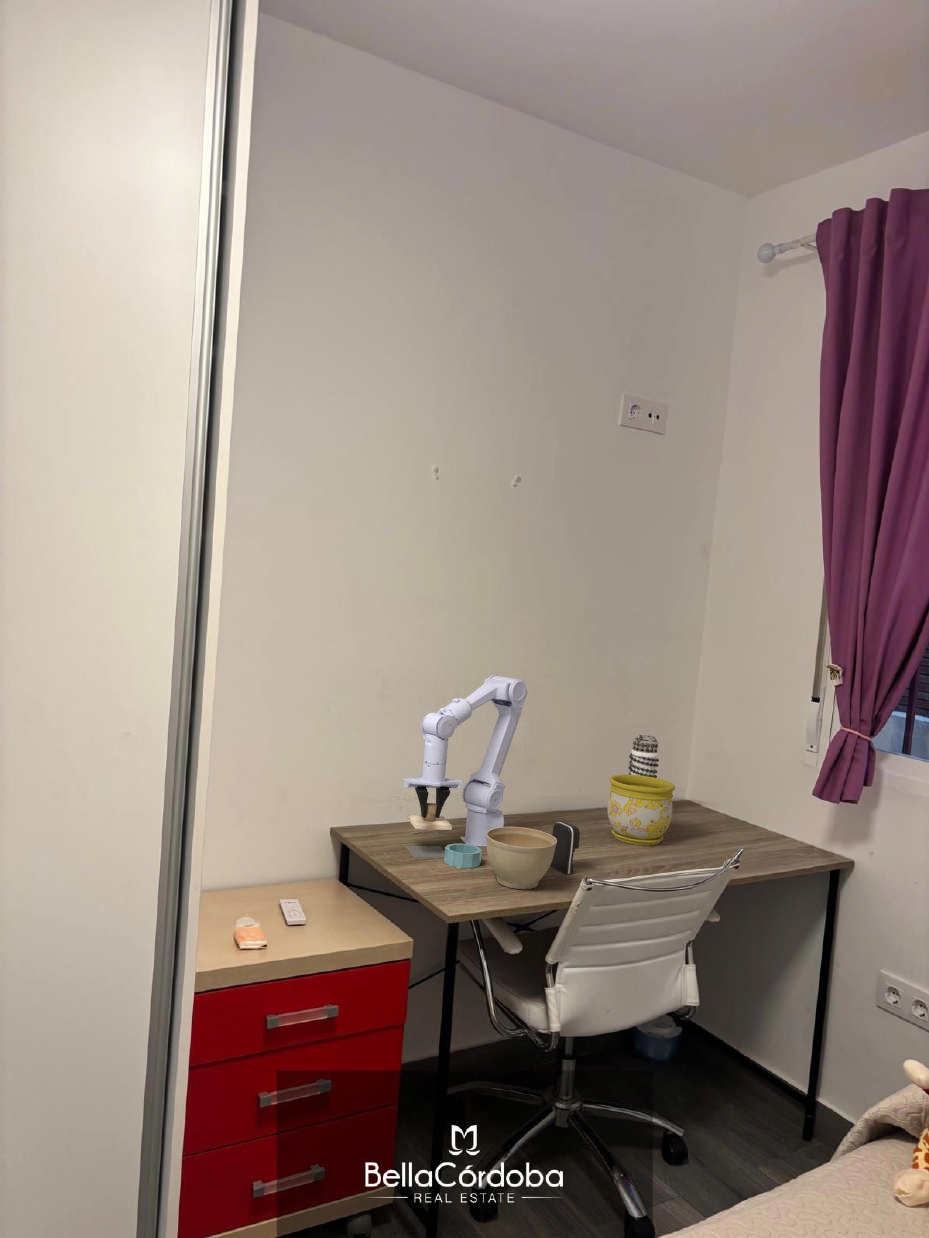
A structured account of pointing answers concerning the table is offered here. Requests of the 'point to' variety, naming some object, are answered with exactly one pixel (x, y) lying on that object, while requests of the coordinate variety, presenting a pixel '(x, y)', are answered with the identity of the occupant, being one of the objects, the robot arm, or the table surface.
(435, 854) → the mat
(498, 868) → the planter bowl
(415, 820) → the lid
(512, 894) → the table surface
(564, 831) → the battery charger
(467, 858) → the bowl
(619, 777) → the flowerpot
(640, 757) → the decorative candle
